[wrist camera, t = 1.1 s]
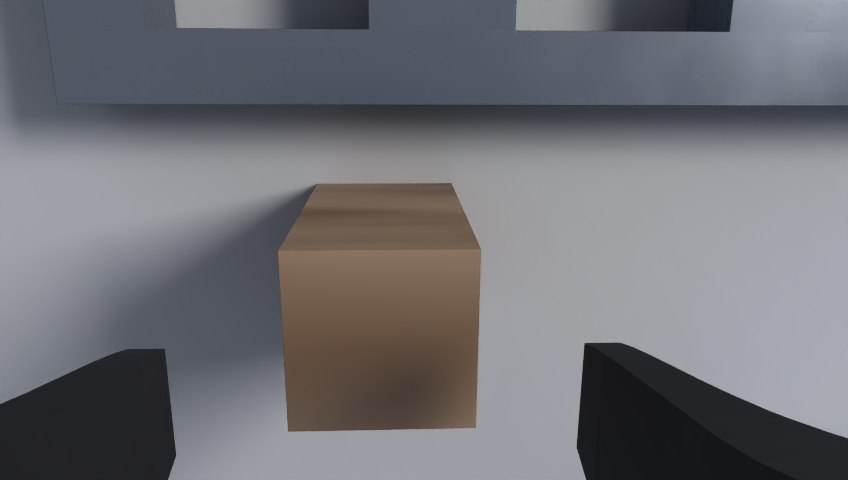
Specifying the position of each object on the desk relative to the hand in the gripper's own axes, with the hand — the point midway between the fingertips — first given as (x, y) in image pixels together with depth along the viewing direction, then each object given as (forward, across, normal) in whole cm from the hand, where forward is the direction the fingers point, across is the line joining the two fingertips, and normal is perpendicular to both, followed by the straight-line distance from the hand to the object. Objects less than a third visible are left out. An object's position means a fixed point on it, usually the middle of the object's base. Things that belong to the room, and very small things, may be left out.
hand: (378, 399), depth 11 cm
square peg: (+9, 0, 0) cm, 9 cm away
